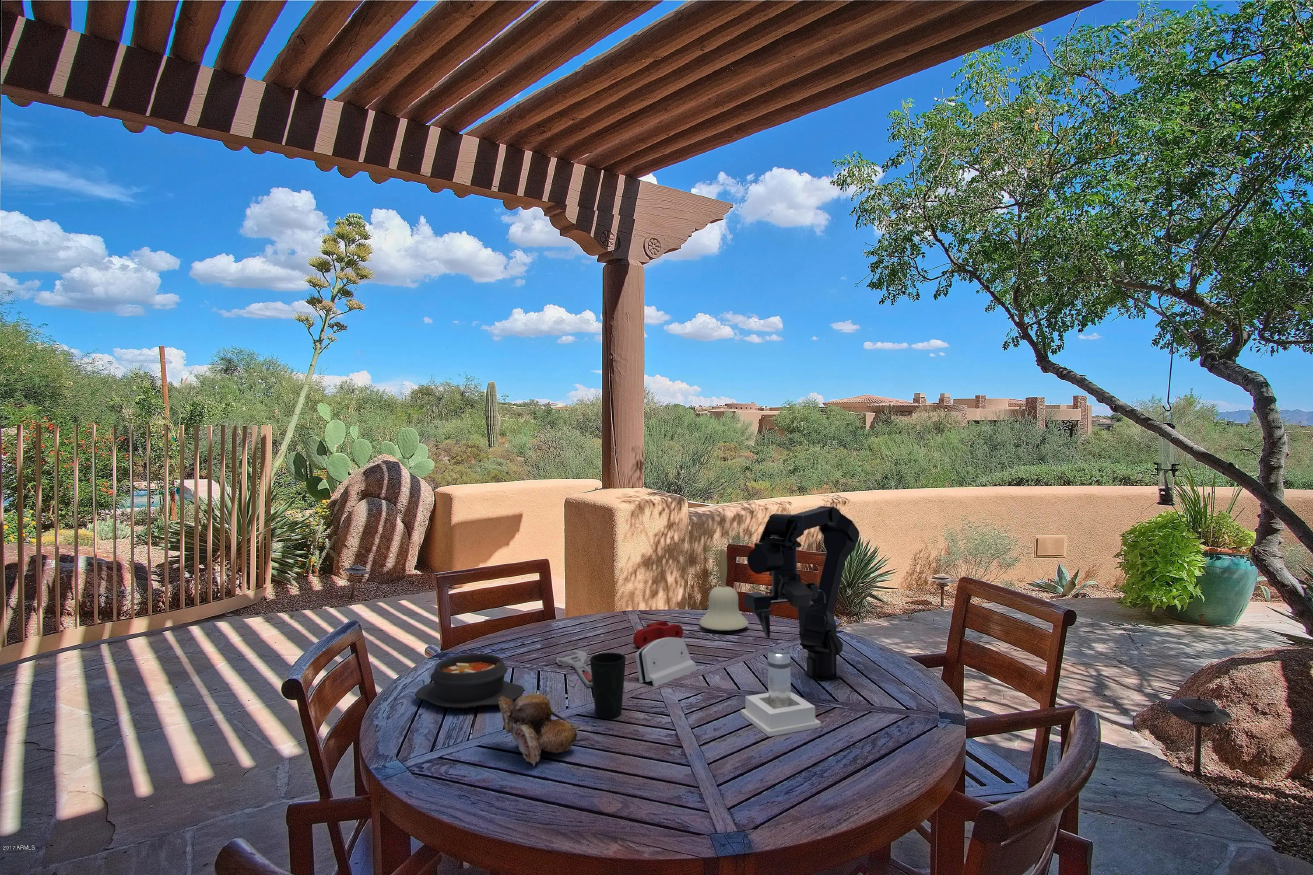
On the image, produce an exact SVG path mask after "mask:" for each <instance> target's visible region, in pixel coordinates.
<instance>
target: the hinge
mask: <svg viewBox="0 0 1313 875" xmlns="http://www.w3.org/2000/svg"><path fill="white" fill-rule="evenodd" d="M635 660H636V667H637V673H638V674H637V675H638V680H639V683H641V684H642V683H643V684H644V682H646V683H647V682H652V686H653V688H655V687H658V686H661V685H663V684H665V683H666V684H667V683H669V682H671V681H673V680H675V679H679V678H681V677H684V676H685V675H688V674H691V673H693V672H695V671H698V669H697V665H696V662H695V661H694V660H692V658H691V655H690V653H689V650H688V648H687V645H686V642H685V640H684V639H683V638H675V637H667V638H662V639H658V640H655V641H652V642H650V643H649V644H647V645H645V646H644V647H642V648H639V650H638V651H637V652H636V653H635Z"/></svg>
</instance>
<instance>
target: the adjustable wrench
mask: <svg viewBox="0 0 1313 875" xmlns="http://www.w3.org/2000/svg"><path fill="white" fill-rule="evenodd" d="M586 661H587V662H588V653H587V652H585V651H582V650H581V651H580V650H571V655H568V656H565V657H562V658H561V657H557V658H556V664H557V665H558V664H559V665H562V664H563V665H569V666H568V667H571V666H572V668H574V670H575V672H577V674H578V676H579V678H580V680H582V682H583V683H584V684H585V686H586V687H587V688H593V684H592V674H591V669H590V668H589V667H588V666H587V664H586Z"/></svg>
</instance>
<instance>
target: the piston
mask: <svg viewBox="0 0 1313 875" xmlns="http://www.w3.org/2000/svg"><path fill="white" fill-rule="evenodd" d="M766 661H767V662H766V664H767V686H768V688H767V690H768V692H767V693H768V703H769V706H770V707H772V708H773V709H777V708H783V707H789V706H791V692H792V688H791V687H792V686H791V678H792V677H791V676H792V674H791V667H792V660H791V651H787V650H784V649H772V650H769V651H767V660H766Z"/></svg>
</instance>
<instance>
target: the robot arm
mask: <svg viewBox="0 0 1313 875" xmlns="http://www.w3.org/2000/svg"><path fill="white" fill-rule="evenodd" d="M817 527H818V530H819V531H820V533H821V534H822V537H823V538H822V543H823V546H824V547H823V548H824V549H825V552H826V553H825V558H824V561H823V567H822V570H821V575H820V578H819V583H818V584H817V583H816V582H814V581H813V582H812V581H811V582H807V583H806V582H804V583H803V582H802V579H801V578H802V577H801V573H799V572H798V559H797V558H798V556H797V554H798V551H797V550H798V549H799V548H802V547H803V546H802V543H801V542H800V541H798V540H797V539H799V538H801V537H802V536H804V535H805V531H807V530H812V529H814V528H817ZM859 538H860V531H859V529H858V527H857V526H856V525H855V522H854V521H853V520H852V519H850V518H848V516H846V515H845V514H843V513H842V512H841V511H840V510H839V508H837V507H835V506H827V505H826V506H825V505H820V506H817V507H815V508H812V509H808V510H805V511H801V512H798V513H794V514H792V513H771V514H770V515H769V517H768V519H767V521H766V522H765V526H764V528H763V529H762V533H761V535H760V537H759V540H758V542H754V546H753V547H754V548H752V549H751V550H750V551H749V553H748V555H747V558H746V562H747V567H748V568H749V570H750V571H751V572H753V573H754V574H755V575H761V574H766V573H769V576H770V577H771V586H772V587H771V588H769V594H770V595H768V594H765V593H762V592H759V591H758V592H749V593H746V594H745V596H744V598H743V606H745V607H747V608H748V609H749V610H751V611H753V613H754V614H755V615H756V616H755V617H756V618H757V619H758V621H759V623H760V626H761V629H762V630H763V634H764V635H765V637H766V638H767V639H770V637H771V618H770V617H771V614H772V611H773V610H772V609H769V608H771V606H772V605H773V604H781V603H784V604H785V603H789V605H790V606H791V607H793V608H797V615H798V617H797V618H798V626H799V630H798V635H799V640H800V644H801V647H802V648H801V649H802V650H807V656H806V670H804V674H805V675H808V676H809V677H811V678H813V679H815V680H816V681H819V682H822V681H827V680H834V679H840V678H841V677H842V676H841V675H840V674H838V673H837V672H838V671H837V667H838V666H837V665H838V664H837V656H840V655H841V653H843V648H844V643H843V642H842V640H841V639H840V637H839V636H838V634H837V628H838V626H837V623H836V619H835V615H834V612H835V611H834V610H835V607H836V601H837V599H838V598H837V597H838V593H839V589H840V585H841V581H842V577H843V572H844V568H845V563H846V559H847V558H849V556H850V555H851V554H853V553H854V551H855V550H856V546H857V544H858V542H859V541H858V540H859ZM797 548H798V549H797Z"/></svg>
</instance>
